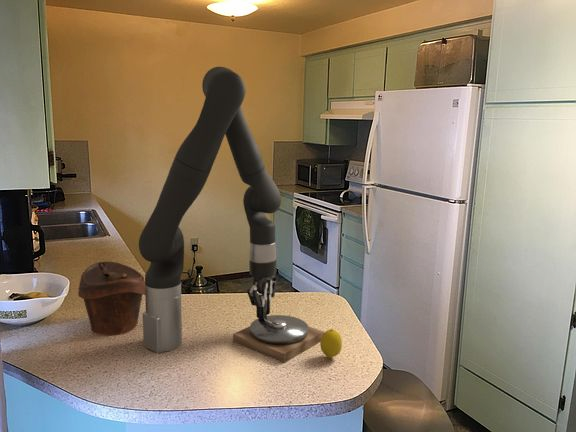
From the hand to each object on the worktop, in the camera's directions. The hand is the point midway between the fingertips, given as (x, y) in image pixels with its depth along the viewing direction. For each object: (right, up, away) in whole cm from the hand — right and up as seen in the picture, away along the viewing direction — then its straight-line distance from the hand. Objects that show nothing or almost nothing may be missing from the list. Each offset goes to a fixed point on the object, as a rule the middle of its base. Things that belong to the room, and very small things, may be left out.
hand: (263, 315), depth 138 cm
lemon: (+18, -9, -12) cm, 23 cm away
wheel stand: (+4, -6, -3) cm, 8 cm away
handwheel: (+4, -4, -4) cm, 7 cm away
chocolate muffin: (-43, -4, +3) cm, 44 cm away
